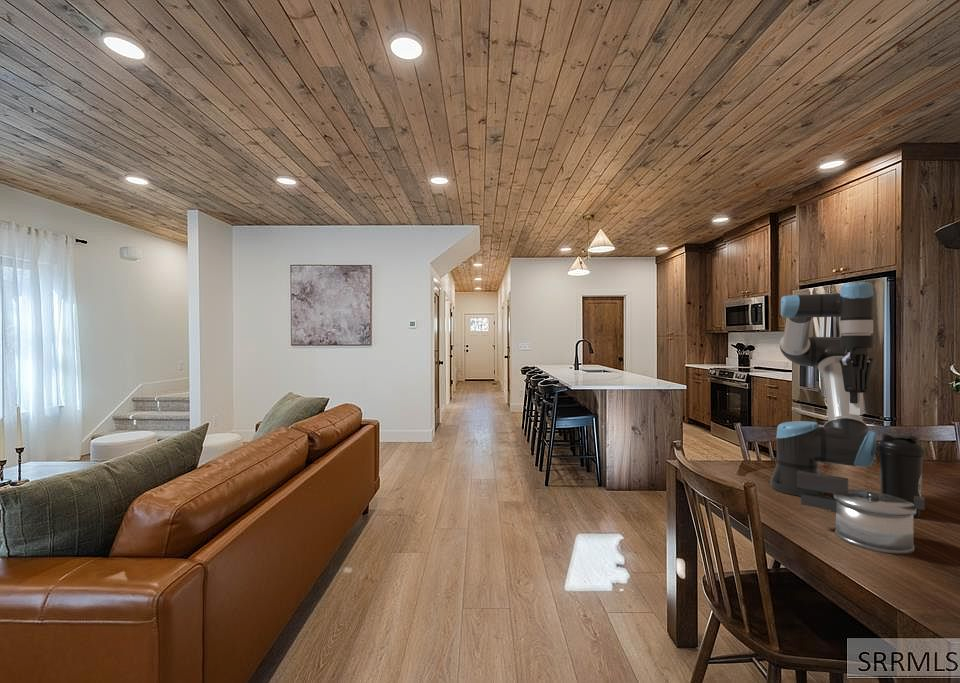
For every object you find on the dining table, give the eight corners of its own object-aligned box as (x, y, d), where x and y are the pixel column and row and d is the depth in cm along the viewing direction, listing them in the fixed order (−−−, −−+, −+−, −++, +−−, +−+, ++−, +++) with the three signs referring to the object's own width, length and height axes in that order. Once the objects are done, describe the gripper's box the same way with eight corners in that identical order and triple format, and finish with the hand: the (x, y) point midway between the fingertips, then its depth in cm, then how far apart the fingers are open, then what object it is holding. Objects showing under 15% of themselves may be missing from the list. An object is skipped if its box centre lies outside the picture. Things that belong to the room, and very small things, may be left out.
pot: (912, 539, 117) (912, 504, 117) (916, 560, 105) (916, 522, 105) (804, 516, 132) (805, 485, 132) (797, 533, 120) (798, 499, 120)
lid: (922, 504, 116) (922, 484, 116) (926, 523, 104) (926, 500, 104) (801, 483, 133) (801, 465, 133) (793, 497, 121) (793, 478, 121)
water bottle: (928, 521, 129) (929, 440, 129) (881, 514, 134) (881, 436, 134) (918, 510, 137) (918, 434, 137) (874, 503, 143) (874, 430, 143)
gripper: (854, 335, 141) (854, 411, 141) (829, 334, 136) (828, 413, 136) (884, 334, 134) (883, 414, 134) (858, 334, 129) (858, 417, 129)
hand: (856, 414), depth 135 cm, fingers closed
